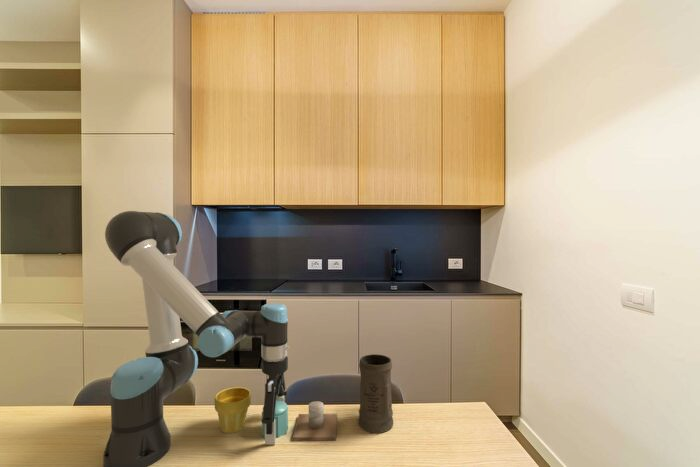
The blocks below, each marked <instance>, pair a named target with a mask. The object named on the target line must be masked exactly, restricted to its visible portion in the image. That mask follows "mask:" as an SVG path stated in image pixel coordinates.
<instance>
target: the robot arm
mask: <svg viewBox="0 0 700 467" xmlns="http://www.w3.org/2000/svg"><path fill="white" fill-rule="evenodd" d="M104 236H105V243H106V245H107V247H108V249H109V251H110V252H111V254H113V256H114V257H115V258H116V259H117V260H118V262H120V264H122V266H126V267H128V266H129V267H131V268H132V270H133V271H134V272H136V273H137V275H139V276H140V278H141V279H142V280H141V281H142V289H143V297H144V304H145V312H146V321H147V328H148V335H149V344H148V346H147V347H146V349H145V350H144V352H145V356H144V357H140V358H139V357H138V358H137V359H135V360H130V361H128V362H126V363H124V364H122V365H120V366H119V367H117V369H116V370H115V371H114V372H113V374H112V376H111V384H110V389H109V393H110V418H111V419H110V420H111V422H110V423H111V425H110V426H111V427H110V428H111V431H110V434H109V437H108V440H107V442H106V446H105V448H104V451H103V455H102V456H103V457H102V458H103V459H102V460H103V463H102V464H103V467H148V466H151V465H153V464H154V463H156V462H158V461H159V460H160V459H162V458H163V457H164V456H165V455H166V454H167V453H168V452H169V451H170V449H171V444H172V442H171V441H172V440H171V439H172V438H171V432H170V431H169V428H168V426H167V424H166V421H165V419H164V400H165V399H166V398H167V397H169V396H170V395H172V394H173V393H174V392H176V391H177V390H178V389H179V388H180V387H183V386H184V385H186V384H187V383H188V382H189V380H191V378H193V376H194V374H195V373H196V371H197V370H198V365H199V358H198V353H197V352H196V350H195V349H193V347H192V346H191V345H189V340H188V339H187V338H185V337H184V336H183V334H182V326H181V320H182V321H183V322H184V324H186V325H187V326H188V328H190V329H191V330H192V331H193V333H194V334H196V336H197V346H198V349H199V350H198V351H199V352H200V353H201V354H203V355H204V356H205V357H208V358H218V357H220V356H221V355H223V354H225V353H228V352H229V351H230V350H231V349H232V348H233V347H234V346H235V345H236V344H238V343H239V342H241V341H242V340H243V339H244V338H260V339H261V342H260V343H261V347H260V348H261V353H260V354H261V355H260V356H261V358H262V359H261V372H262V373H263V375H264V374H265V375H267V376H268V378H267V379H266V383H265V384H264V400H263V401H264V403H263V406H264V412H263V419H262V418H261V423H262V422H263V424H265V436H264V445H267V446H268V445H270V446H271V445H276V438H275V419H274V416H275V408H276V401H283V402H285V396H287V394H288V392H287V391H286V390H287V388H286V381H285V372H287V371H288V369H289V363H288V362H289V359H288V350H290V345H288V324H289V319H288V308H287V306H286V305H285V304H284V303H280V302H279V303H278V302H272V303H271V302H270V303H265V304H264V305H262V306H261V309H260V310H238V309H234V310H226V311H224V312H222V313H221V312H219V311H218V309H216V307H215V306H214V305H212V303H211V302H209V300H207V298H206V297H205V296H204V295H203V294H202V293H201V292H200V291H199V290H198V288H196V287H195V286H194V285H193V284H192V283H191V282H190V280H188V279H187V277H186V276H184V275H183V273H182V272H181V271H180V270H179V269H178V268H177V267H176V266H175V265H174V264H173V263H174V262H173V260H174V259H175V257H176V256H177V255H178V250H177V246H179V245H180V244H179V243H180V242H181V241H182V237H183V231H182V228H181V225H180V223H179V221H178V220H176V219H175V218H174V217H172V216H171V215H169V214H166V213H162V212H153V211H151V212H149V211H138V210H137V211H135V210H126V211H123V212H120V213H118V214H115V216H113V217H111V219H110V220H109V222H107V225H106V227H105V232H104Z"/></svg>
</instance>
